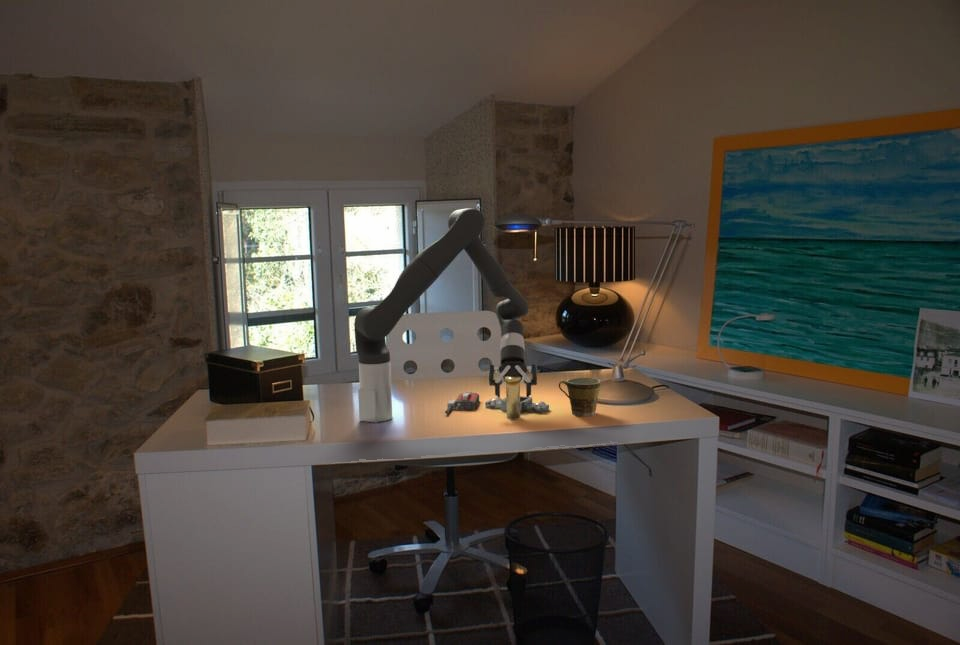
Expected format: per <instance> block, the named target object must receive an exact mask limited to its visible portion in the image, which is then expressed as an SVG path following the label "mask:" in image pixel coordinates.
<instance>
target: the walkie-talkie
mask: <svg viewBox="0 0 960 645" xmlns="http://www.w3.org/2000/svg"><path fill="white" fill-rule="evenodd" d="M479 403H480V394H479V393H477V392H472V391H465V392H462V393H460V394H459V395H458V396H457V397H456V398H455V399H454V398H452V399H450V400H449V401H448V402H447V405H446V406H447V408H446V410H445V411H444V413H445V414H447V415H448V414H449V412H450V411H451V410H456V411H458V410H459V411H469V410H470V411H474V410H476V409H477V407H478V405H479Z"/></svg>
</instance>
